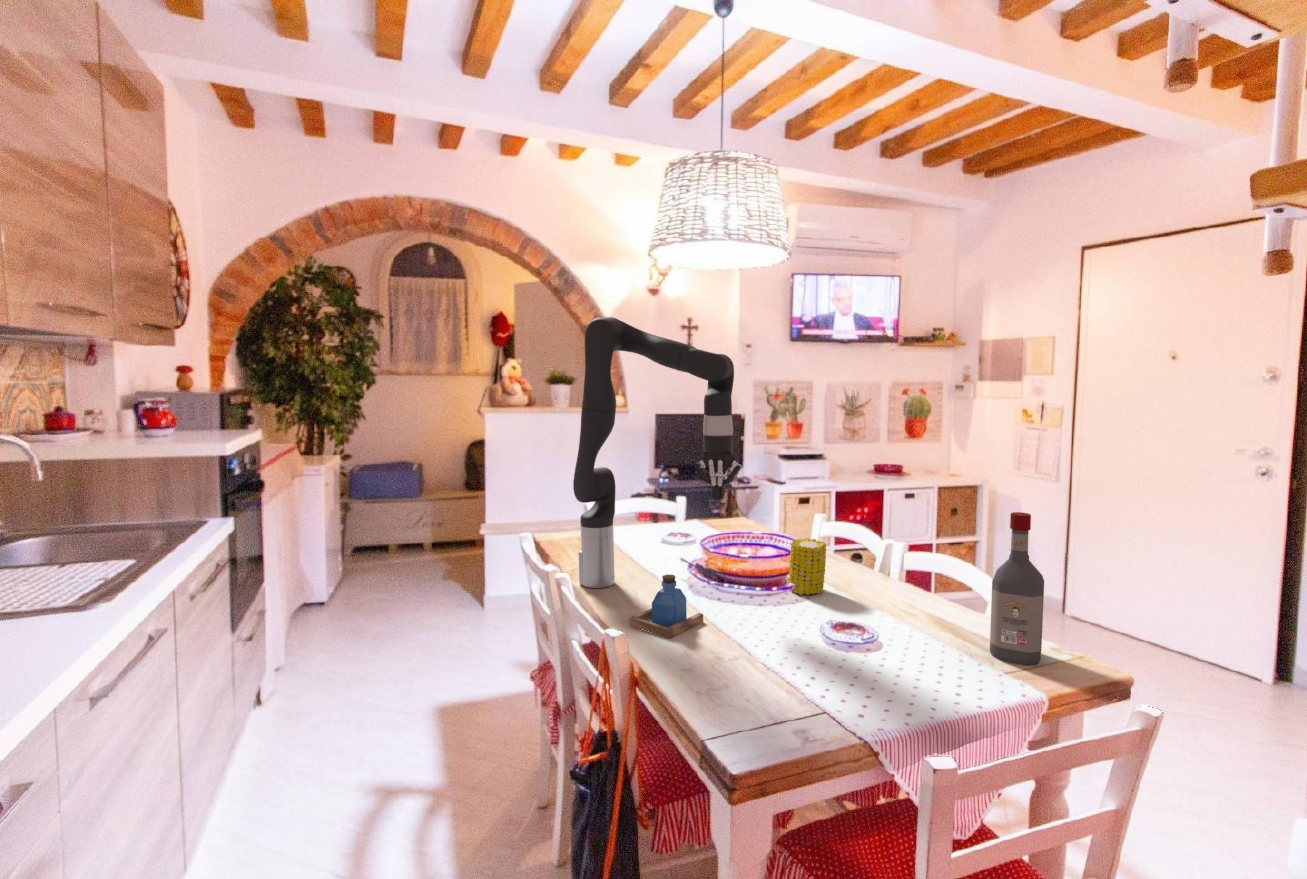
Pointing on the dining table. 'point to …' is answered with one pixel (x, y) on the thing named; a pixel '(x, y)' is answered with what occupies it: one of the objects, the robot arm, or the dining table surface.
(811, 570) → the food
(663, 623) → the perfume bottle
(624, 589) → the dining table surface
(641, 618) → the frame
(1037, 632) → the liquor
